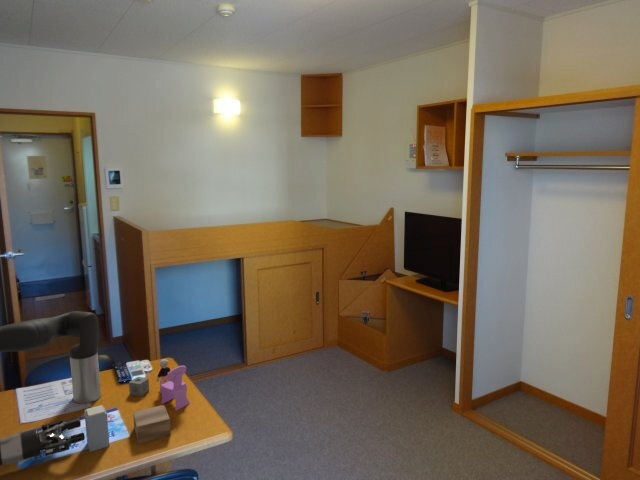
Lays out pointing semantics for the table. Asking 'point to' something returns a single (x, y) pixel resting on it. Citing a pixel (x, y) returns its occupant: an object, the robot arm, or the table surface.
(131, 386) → the dice cube
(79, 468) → the table surface
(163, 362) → the grandmother figurine
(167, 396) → the toy chair
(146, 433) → the walnut block
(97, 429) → the slate-blue canister
